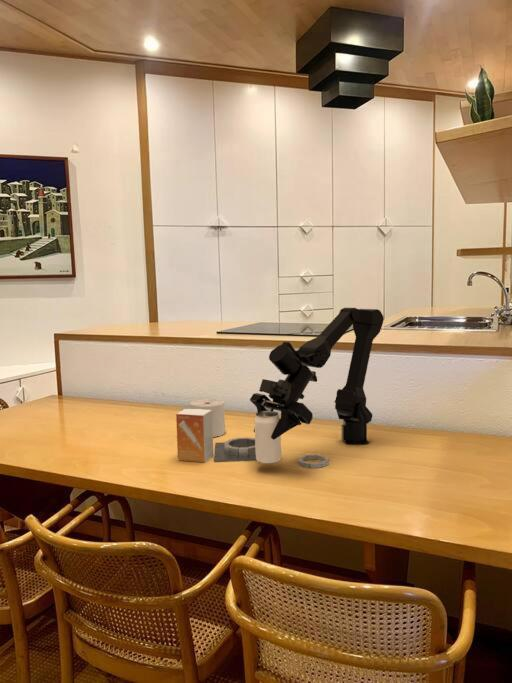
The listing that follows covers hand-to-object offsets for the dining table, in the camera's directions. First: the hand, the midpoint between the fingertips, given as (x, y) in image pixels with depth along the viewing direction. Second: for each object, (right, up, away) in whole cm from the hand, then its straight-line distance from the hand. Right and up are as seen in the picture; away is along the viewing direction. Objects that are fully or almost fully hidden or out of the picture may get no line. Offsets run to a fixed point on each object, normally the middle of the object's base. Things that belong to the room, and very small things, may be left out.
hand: (263, 435), depth 132 cm
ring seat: (-5, -7, +16) cm, 19 cm away
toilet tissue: (-17, -6, +35) cm, 39 cm away
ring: (+13, -8, +5) cm, 16 cm away
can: (+1, -7, +2) cm, 7 cm away
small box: (-18, -8, +12) cm, 23 cm away
